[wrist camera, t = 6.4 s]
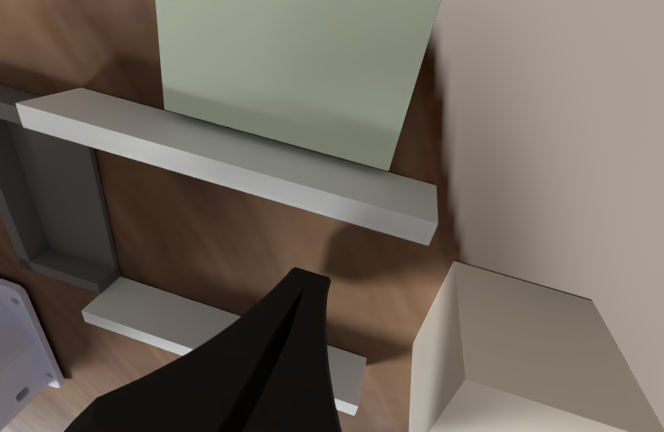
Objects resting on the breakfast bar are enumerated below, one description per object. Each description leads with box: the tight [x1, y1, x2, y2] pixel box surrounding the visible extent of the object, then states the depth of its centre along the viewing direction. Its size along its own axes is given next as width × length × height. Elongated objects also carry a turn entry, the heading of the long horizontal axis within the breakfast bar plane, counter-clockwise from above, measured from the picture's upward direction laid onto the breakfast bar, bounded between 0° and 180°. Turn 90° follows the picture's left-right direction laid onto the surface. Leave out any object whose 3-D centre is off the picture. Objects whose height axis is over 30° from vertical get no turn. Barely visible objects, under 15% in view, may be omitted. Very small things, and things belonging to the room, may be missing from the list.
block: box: [409, 261, 664, 432], centre depth 11 cm, size 4×4×4 cm
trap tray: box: [0, 84, 120, 294], centre depth 14 cm, size 8×4×1 cm, turn 169°
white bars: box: [15, 88, 438, 415], centre depth 13 cm, size 9×12×2 cm
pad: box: [155, 0, 441, 171], centre depth 8 cm, size 7×7×1 cm
